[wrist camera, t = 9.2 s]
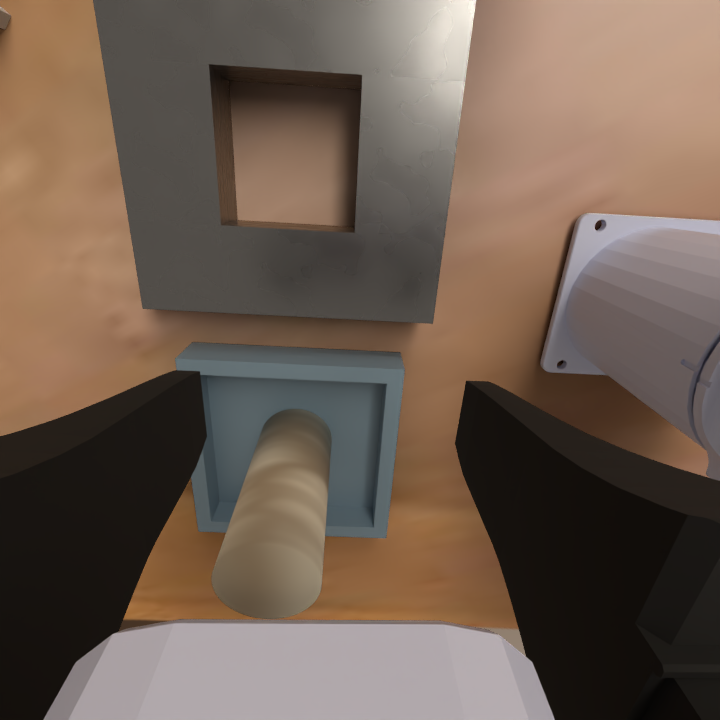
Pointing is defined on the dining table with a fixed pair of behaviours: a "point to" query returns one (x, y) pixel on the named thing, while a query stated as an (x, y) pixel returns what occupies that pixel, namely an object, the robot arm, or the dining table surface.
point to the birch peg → (278, 521)
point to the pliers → (4, 18)
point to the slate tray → (307, 392)
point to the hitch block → (216, 161)
